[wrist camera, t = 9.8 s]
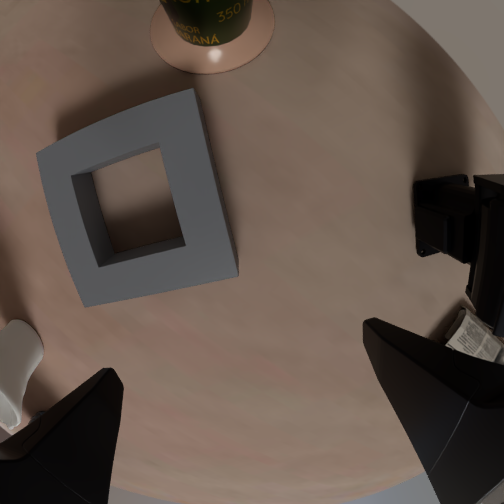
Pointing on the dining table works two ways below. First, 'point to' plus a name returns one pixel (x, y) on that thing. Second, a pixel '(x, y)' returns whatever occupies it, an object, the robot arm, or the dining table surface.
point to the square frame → (183, 192)
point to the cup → (16, 367)
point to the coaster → (215, 56)
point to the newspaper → (474, 338)
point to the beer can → (208, 20)
